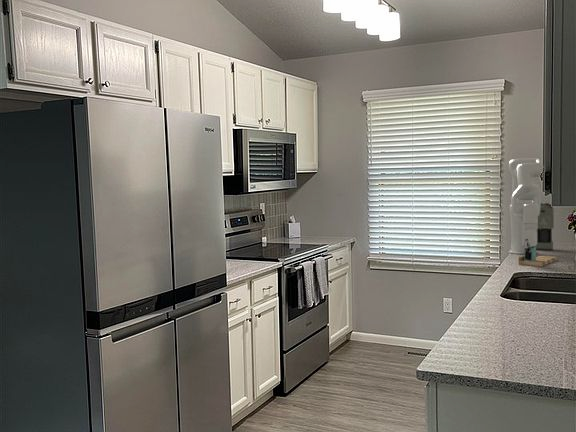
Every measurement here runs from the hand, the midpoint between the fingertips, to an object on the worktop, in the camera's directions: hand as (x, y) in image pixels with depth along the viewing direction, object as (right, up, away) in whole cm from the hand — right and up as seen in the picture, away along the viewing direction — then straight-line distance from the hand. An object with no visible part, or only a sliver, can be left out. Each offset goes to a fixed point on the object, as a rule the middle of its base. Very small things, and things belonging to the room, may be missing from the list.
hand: (530, 258), depth 307 cm
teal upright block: (0, -1, 0) cm, 1 cm away
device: (+29, +2, +51) cm, 59 cm away
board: (+6, -2, +4) cm, 8 cm away
